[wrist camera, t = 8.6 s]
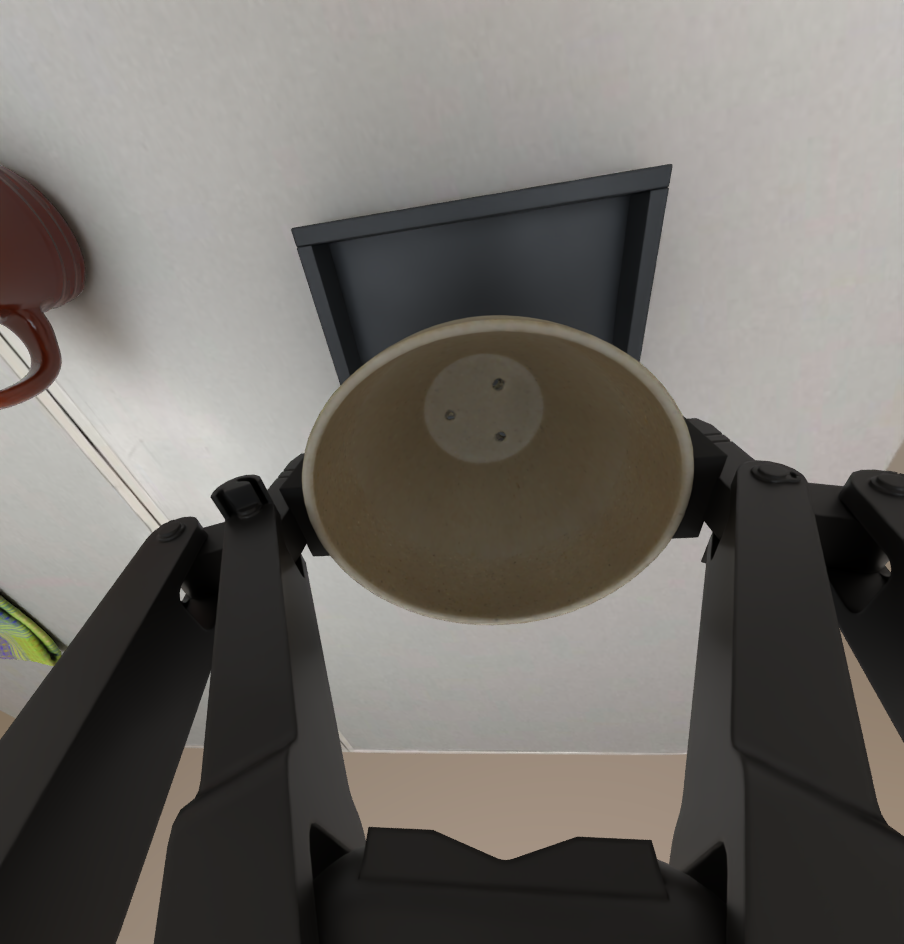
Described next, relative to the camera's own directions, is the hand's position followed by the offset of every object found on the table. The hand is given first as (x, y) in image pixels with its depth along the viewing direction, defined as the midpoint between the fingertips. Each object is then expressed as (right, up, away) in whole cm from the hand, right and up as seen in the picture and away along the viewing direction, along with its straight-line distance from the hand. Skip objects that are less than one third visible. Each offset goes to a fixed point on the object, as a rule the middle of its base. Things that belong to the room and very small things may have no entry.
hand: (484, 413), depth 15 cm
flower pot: (0, 0, 0) cm, 0 cm away
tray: (+1, 0, +12) cm, 12 cm away
